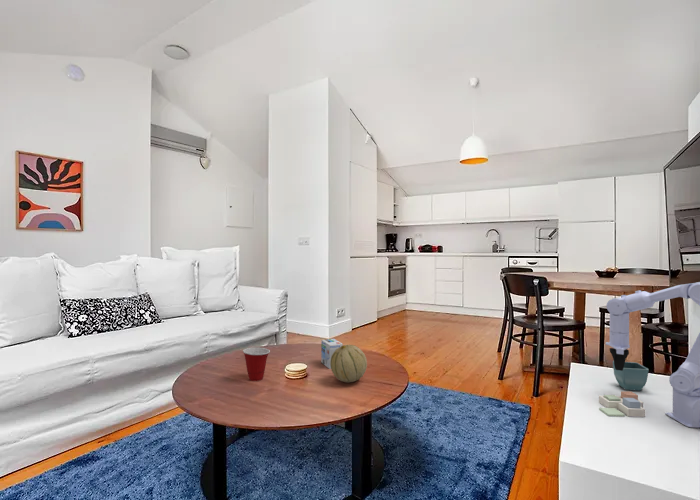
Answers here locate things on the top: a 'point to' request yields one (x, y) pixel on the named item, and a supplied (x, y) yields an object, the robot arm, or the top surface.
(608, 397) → the sage button
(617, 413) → the sage swatch
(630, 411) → the side socket
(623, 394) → the orange-brown cube
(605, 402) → the button strip
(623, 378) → the flower pot
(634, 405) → the blue-grey cube
